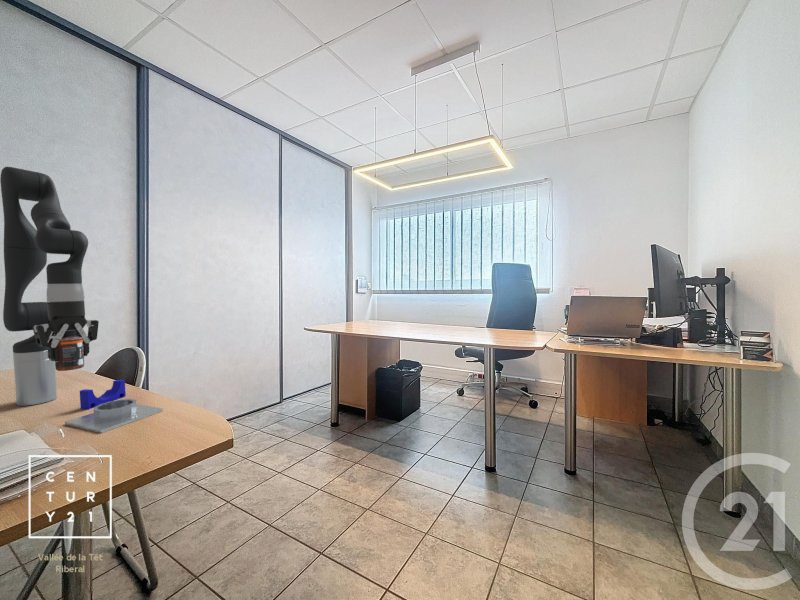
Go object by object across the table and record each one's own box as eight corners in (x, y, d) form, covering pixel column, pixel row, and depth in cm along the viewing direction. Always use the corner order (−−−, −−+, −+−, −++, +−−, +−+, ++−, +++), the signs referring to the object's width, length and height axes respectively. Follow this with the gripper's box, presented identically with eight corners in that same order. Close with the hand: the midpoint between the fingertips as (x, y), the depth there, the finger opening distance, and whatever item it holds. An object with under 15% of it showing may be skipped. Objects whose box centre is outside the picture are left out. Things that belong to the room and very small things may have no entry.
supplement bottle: (89, 367, 98) (87, 328, 97) (63, 372, 92) (60, 331, 92) (76, 365, 100) (74, 328, 99) (50, 370, 94) (48, 330, 94)
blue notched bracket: (114, 396, 117) (113, 379, 117) (125, 397, 116) (124, 380, 116) (76, 409, 105) (75, 390, 105) (88, 410, 105) (87, 391, 104)
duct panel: (65, 424, 93) (64, 411, 93) (128, 404, 108) (127, 393, 108) (101, 433, 88) (100, 418, 88) (162, 411, 103) (162, 398, 103)
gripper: (89, 298, 103) (92, 352, 104) (23, 301, 90) (27, 363, 90) (104, 298, 100) (107, 354, 101) (38, 301, 87) (43, 365, 88)
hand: (69, 358), depth 96 cm, fingers closed on supplement bottle, 6 cm apart
